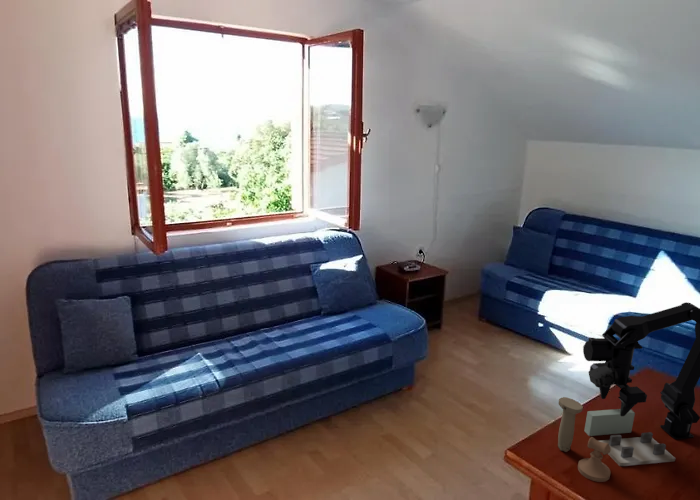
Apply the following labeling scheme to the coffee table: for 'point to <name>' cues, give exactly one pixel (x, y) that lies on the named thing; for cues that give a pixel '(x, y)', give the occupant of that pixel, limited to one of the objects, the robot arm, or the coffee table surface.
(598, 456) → the door knob
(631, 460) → the cabinet panel
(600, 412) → the cabinet door
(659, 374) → the coffee table surface
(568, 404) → the handle
